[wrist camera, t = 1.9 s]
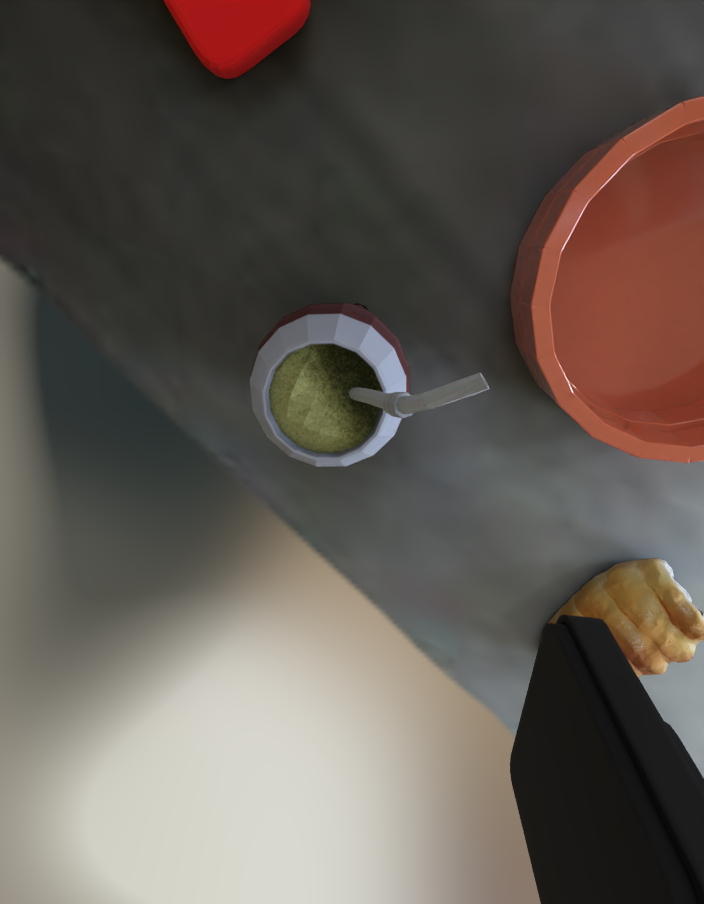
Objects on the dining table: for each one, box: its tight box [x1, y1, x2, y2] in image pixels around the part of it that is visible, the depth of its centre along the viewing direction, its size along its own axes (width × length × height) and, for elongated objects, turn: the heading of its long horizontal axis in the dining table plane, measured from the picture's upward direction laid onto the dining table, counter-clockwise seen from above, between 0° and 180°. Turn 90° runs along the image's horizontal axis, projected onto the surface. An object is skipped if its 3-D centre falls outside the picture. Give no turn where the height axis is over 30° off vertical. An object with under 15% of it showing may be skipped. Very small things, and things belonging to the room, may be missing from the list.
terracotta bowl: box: [510, 96, 704, 463], centre depth 25 cm, size 15×15×5 cm
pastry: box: [540, 558, 704, 678], centre depth 33 cm, size 9×7×4 cm
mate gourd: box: [250, 303, 489, 467], centre depth 23 cm, size 8×8×15 cm
